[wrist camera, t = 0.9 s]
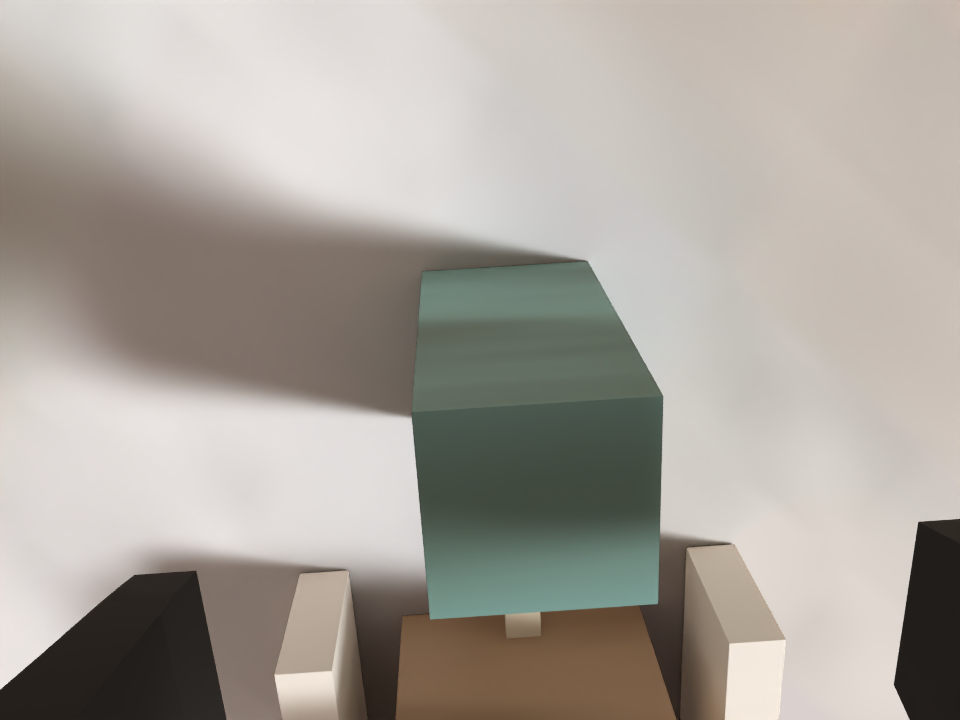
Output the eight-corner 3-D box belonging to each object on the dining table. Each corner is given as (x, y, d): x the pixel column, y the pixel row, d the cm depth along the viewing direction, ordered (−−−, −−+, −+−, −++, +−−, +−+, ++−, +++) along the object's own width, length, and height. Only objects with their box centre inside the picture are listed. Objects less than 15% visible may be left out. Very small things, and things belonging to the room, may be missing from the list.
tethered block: (634, 777, 21) (704, 1058, 15) (420, 792, 21) (412, 1081, 15) (642, 257, 16) (746, 390, 11) (366, 274, 16) (327, 417, 11)
